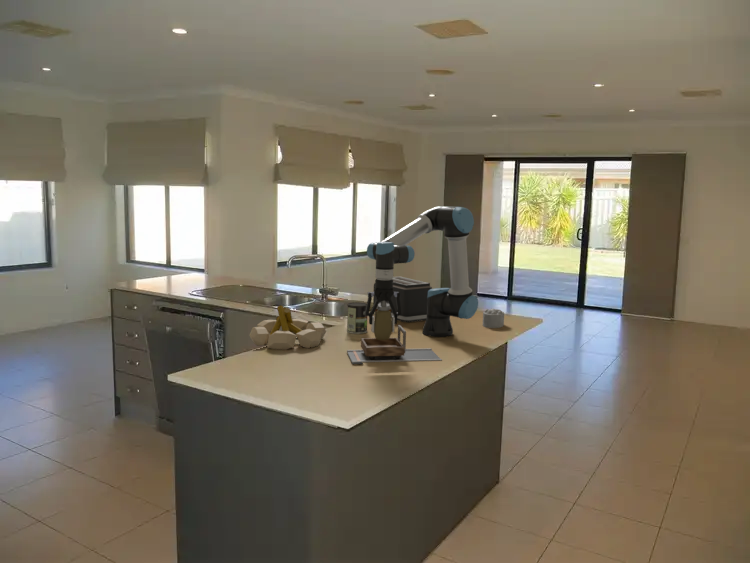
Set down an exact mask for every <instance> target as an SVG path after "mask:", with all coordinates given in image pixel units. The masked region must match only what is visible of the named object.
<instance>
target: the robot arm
mask: <svg viewBox="0 0 750 563" xmlns="http://www.w3.org/2000/svg"><path fill="white" fill-rule="evenodd" d="M474 225H475V220H474V215H473V213H472V211H471V210H470V209H468V208H467V207H463V206H445V205H439V206H435V207H432V208H430V209H428V210H425V211H424V212H422V213H420V214H419V215H418V216H416V219H415V220H412V222H410V223H408V224H406V225H405V226H403V227H401V228H400V229H398V230H397V231H395V232H394V233H392V234H391V235H389V236H387V237H386V238H384V239H383V240H381V241H379V242H370V243H369V244H368V246H367V248H366V254H367V257H368V258H369V259H370V260H371V259H372V260H375V274H374V275H375V276H374V277H375V278H376V279H375V282H374V283H375V290H374V289H373V291H367V301H366V304H367V305H366V310H365V315H366V316H367V317H368V324H369V325H371V326H370V328H371V329H370V332H372V334H374V321H375V310H376V308H377V306H378V304H379V302H380V301H388V303H389V305H390V307H391V310H392V312H393V315H394V316H392V318H391V321H392V333H395V325H397V324H398V320H397V317H398V316H399V315H401V314H402V313H401V306H400V299H399V297H400V293H399V292H394V291H393V280H392V278H393V277H394V269H395V268H394V267H395V266H394V265H395V264H397V265H398V264H407V263H411V262H413V260H414V259H415V250H414V248H413V247H412V245H409V244H410V243H411V242H414V241H415V240H416V239H418V238H419V237H421V236H423V235H424V234H430V233H432V232H434V231H440V232H441V231H442V232H443V233H444V234H443V235H444V239H446V240H447V245H448V262H449V278H450V280H449V281H450V287H435V288H432V289H430V290H429V291H428V296H427V318H426V321H424V323H423V324H424V325H423V327H422V334H423V335H425V336H429V337H435V338H442V337H443V338H446V337H451V336H452V335H454V334H453V333H454V330H453V326H452V323H451V317H454V318H457V319H460V320H461V319H465V320H469V319H472V317H473V316H474V315H475V314H476V312H477V311H478V308H479V300H478V298H477V296H475V295H474V294H473V289H472V288H471V287H470V281H469V265H468V248H467V239H468V237H469V236H470V233H471V231H472V230H473V228H474ZM374 294H375V296H376V297H377V298H376V300H375V303H374V305H373V304H372V301H373V299H372V298H373V295H374ZM393 294H394V296H395V297H396V305H397V313H396V311H395V308H394V306H393V303H392V301H391V297H392V295H393ZM371 304H372V306H371ZM371 307H372V308H371Z"/></svg>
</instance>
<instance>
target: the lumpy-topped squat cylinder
mask: <svg viewBox="0 0 750 563" xmlns="http://www.w3.org/2000/svg"><path fill="white" fill-rule="evenodd" d="M504 325H505V311H502V310H501V309H498V308H491V309H488V308H486V309H484V310H483V312H482V326H483V327H484V328H487V329H498V328H499V329H500V328H502V327H504Z"/></svg>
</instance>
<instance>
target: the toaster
mask: <svg viewBox="0 0 750 563" xmlns="http://www.w3.org/2000/svg"><path fill="white" fill-rule="evenodd" d="M392 280H393V291H394V292H399V293H400V297H399V299H400V306H401V313H402V314H401V315H399V316H398V317H397V322H398V321H399V322H401V323H416V322H418V323H419V322H425V321H426V318H427V296H428V291H429V290H430V289H433V286H431V282H425V281H422V280H419V279H412V278H410V277H404V276H393V278H392ZM374 290H375V282H374V284H373V291H374ZM372 298H373V299H372V301H373V302H372V303H373V304H372V306H373V305H374V303H375V300H376V298H377V297H376V296H375V294H374V295H373V297H372ZM391 301H392V303H393V306H394V308H395V311H396V313H397V305H396V297H395V296H394V294H393V295H392V297H391ZM379 303H381V301H380V302H379ZM386 303H388V301H386ZM392 316H394V315H393V312H392V310H391V319H392Z"/></svg>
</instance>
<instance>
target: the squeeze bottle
mask: <svg viewBox="0 0 750 563" xmlns="http://www.w3.org/2000/svg"><path fill="white" fill-rule="evenodd" d="M392 333H393V332H392V318H391V312H390V311H389V306H387V305H386V301H381V305H379V306H378V310H377V311H376V313H374V333H373V334H374V338H376V339H378V340H388V339H389V338H391V335H392Z"/></svg>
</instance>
